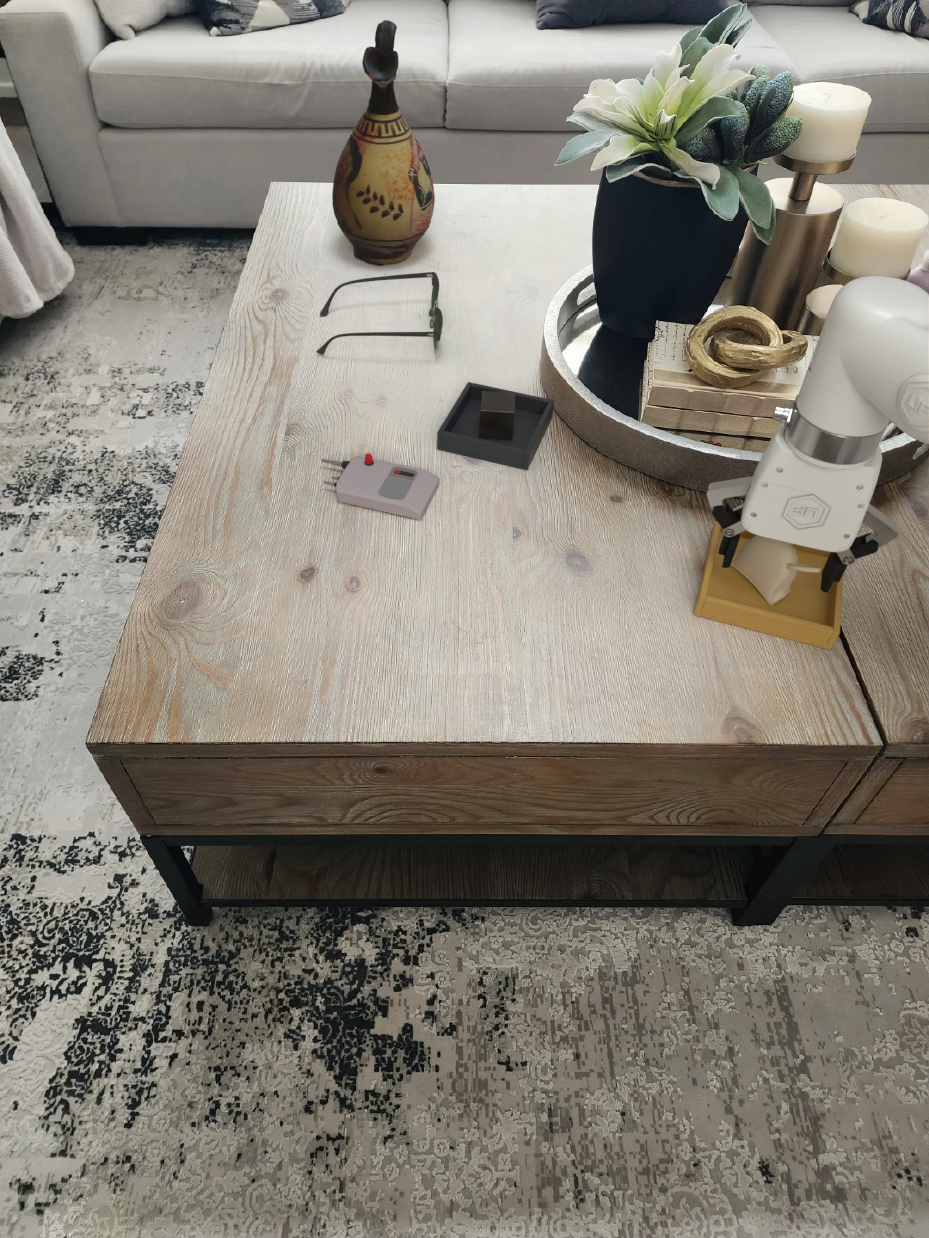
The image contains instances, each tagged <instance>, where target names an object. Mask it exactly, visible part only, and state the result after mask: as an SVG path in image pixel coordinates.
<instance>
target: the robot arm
mask: <svg viewBox="0 0 929 1238" xmlns="http://www.w3.org/2000/svg"><path fill="white" fill-rule="evenodd" d="M810 358H811V359H810V361H809V365H808V366H807V370H806V372H805V375H804V378H803V381H802V383H801V386H800V389H799V392H798V394H796V396H795V399H794V401H791V402H790V404H788V403H785V404H778V403H776V404H775V407H774V410H773V412H772V417H771V420H772V421H773V420H774V421H778V422H779V423H780V425H779V426H778V428H777V429H776V430H775V432H774V433H773V435H772V437H771V438H770V439H769V442H768V444H767V445H766V447H765V449H764V451H763V453H762V455H761V457H760V460H759V461H758V463H757V466H756V468H755V470H754V472H753V475H750V476H744V477H738V478H732V479H727V480H720V481H713V482H711V483H709V484H708V486H707V489H706V498H707V501H708V504H709V506H710V509H711V514H712V517H713V519H714V520H716V521H717V522H718V523H719V524H720V526H721V527H722V528H723V534H724V535H723V538H722V541H721V544H720V547H719V552H718V554H721V555H724V559H723V564H722V567H723V568H728V567H729V568H730V565H731V562H732V559H733V557H734V554H735V551H736V548H737V545H738V542H739V538H740V533H742V532H744V531H746V530H747V531H748V532H750V533H752V534H755V535H759V536H762V537H766V538H771V539H775V540H779V541H783V542H787V543H792V544H796V545H800V546H805V547H809V548H814V549H818V550H823V551H828V552H831V553H830V555H829V557H828V560H827V562H826V564H825V566H824V568H823V570H822V578H821V590H822V592H826V593H828V592H829V590H830V588H831V586H832V584H833V582H838V583H839V582H840V580H841V578H842V576H843V577H844V575H843V574H845V572H846V570H847V568H848V566H852V565H853V564H855V562H856V560H858V559H860V558H863V557H867V556H869V555H874V554H875V553H877V552H878V551H879V549H880V548H881V547H884V546H886V545H887V544H889V543H890V542H892V541H894V540H895V539H896V538H898V537H899V525H898V523H896V522H895V521H893V520H892V519H891V518H890V517H888V516H887V515H886V514H884V513H883V512H881V511H880V510H879V509H878V508H877V507H875V506H874V505H872V504H871V500H872V498H873V495H874V492H875V489H876V486H877V483H878V479H879V476H880V473H881V468H882V464H883V454H882V449H881V446H880V443H881V440H882V438H883V436H884V434H885V432H886V429H887V428H888V425H889V423H890V422H891V423H892V424H893V425H894V426H896V427H897V428H898V429H899V430H900V431H901V432H903V434H905V435H907V436H908V437H910V438H912V439H914V440H916V441H918V442H920V443H923V444H926V445H929V293H928V292H927V291H926V290H925V289H923V288H922V287H920V286H919V285H916V284H915V283H913V282H910V281H907V280H904V279H901V278H897V277H892V276H884V275H867V276H862V277H858V278H854V279H852V280H850V281H848V282H847V283H846V284H845V285H843V286H842V287H841V288H840V289H839V290H838V291H837V293H836V294H835V296H834V297H833V299H832V302H831V304H830V307H829V309H828V312H827V315H826V318H825V320H824V322H823V325H822V328H821V331H820V333H819V337H818V339H817V342H816V345H815V348H814V350H813V352H812V356H811V357H810ZM742 496H743V497H744V496H745V499H744V502H743V503H742V504H740V505H738V506H736V507H734V508H732V507H731V505H730V504H729V503H728V501H727V500H726V499H730V498H736V497H742ZM863 524H864V525H865V526H867V527H868V528H869V529H871V530H872V532H868V533H865V534H862V535H859V536H858V533H859V531H860V529H861V526H862V525H863Z"/></svg>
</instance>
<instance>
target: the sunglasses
mask: <svg viewBox="0 0 929 1238" xmlns="http://www.w3.org/2000/svg"><path fill="white" fill-rule="evenodd" d="M424 278H425V279H426V278H427V279H428V278H431V286H432V289H431V299H430V302H431V303H430V308H429V311H428V316H429V317H430V318H431V319H430V320H429V328H430V329H431V330H432V331H383V332H382V331H375V332H374V331H370V332H368V331H367V332H366V331H365V332H348V333H340V334H335V335H333V336H331V337H330V338H329V339H328V340H326V342H325V343H323V345H321V347H319V348H318V349H317V350H316V353H317V354H319V355H324V354H325V353H326V351H327V348H328V347H329V345H330V344H331V343H332V342H333V341H334V340H335V339H338V338H342V337H343V338H344V337H416V338H417V337H418V338H419V337H420V338H421V337H422V338H432V339H433V349H434V354H436V353H437V351H438V347H439V343H440V341H441V339H442V338H441V336H442V332H443V325H444V323H443V322H444V319H443V313H442V310H441V309H440V308H439V299H438V298H439V292H440V279H439V276H438V274H437V272H435V271H427V272H416V273H415V272H414V273H403V274H393V275H392V274H391V275H384V276H382V275H381V276H374V277H373V276H372V277H367V278H360V279H354V280H349V281H345V282H343V283H341V284H339V285H337V287H335V288H334V290H333V291H332V292H331V294H330V295H329V297H328V299H327V301H326V303H324V306H323V308H322V309H321V310H320V312H319V316H320V317H326V316H328V314H329V310H330V306H331V304H332V301H333V299H334V297H335V295H336V293H337V292H338V291H339V290H341V289H342V288H343V287H345V286H350V285H352V284H359V283H368V282H376V281H377V282H380V281H392V280H408V279H424Z"/></svg>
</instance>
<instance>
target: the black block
mask: <svg viewBox="0 0 929 1238" xmlns="http://www.w3.org/2000/svg"><path fill="white" fill-rule="evenodd" d="M514 413H515V393H507V392H490V391H482V398H481V408H480V427H479V438H483V439H499V440H512V438H513V426H514Z"/></svg>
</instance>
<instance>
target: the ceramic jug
mask: <svg viewBox="0 0 929 1238" xmlns="http://www.w3.org/2000/svg"><path fill="white" fill-rule="evenodd" d="M397 28H398V26H397V24H396V23H394V21H391V20H389V19H384V20H383V21H381V22H379V23H378V24H377V26H376V29H375V35H374V43H375V45H374V46H367V47H366V48H365V50H364V53H363V57H362V61H361V62H362V63H361V64H362V68H363V72H364V74H365V75H366V76H368V78H369V79H370V80H371V90H370V91H371V92H370V97H369V99H368V105H367V108H366V110H365V112H364V113H363V114H362V115H361V117H360V118H359V120H358V121H357V124H356V125H355V127H354V128H353V129H352V132H351V134H350V135H349V138H348V139H347V141H346V143H345V145H344V147H343V149H342V151H341V153H340V156H339V158H338V161H337V164H336V167H335V170H334V171H335V172H334V178H333V184H332V192H331V193H332V194H331V199H332V209H333V214H334V218H335V219H336V223H337V226H338V227H339V230H340V231H341V232H342V234H343V236H345V237H346V239H347V240H348V242H349V243H350V244H351V245H352V249H353V256H354V258H356V259H358V260H360V261H363V262H364V263H366V264H369V265H374V266H383V265H386V264H387V265H392V264H393V265H394V264H399V263H401V262H404V261H406V260H407V259H408V258H409V257H410V256H411V255H412V251H413V250H414V248H415V247H416V245H417V243H418V242H419V241H420V240H421V239H422V237H423V236H424V235H425V233H426V232H427V231H428V229H429V228H430V225H431V223H432V217H433V215H434V211H435V202H436V201H435V199H436V197H435V195H436V194H435V187H434V179H433V176H432V172H431V169H430V165H429V163H428V159H427V157H426V155H425V153H424V151H423V148H422V146H421V145H420V142H419V141H418V140H417V137H416V136H415V133H414V131H413V130H412V129H411V126H410V125H409V124H408V122H407V120H406V119H405V117H404V116H403V113H402V112H401V107H400V106H399V105H398V102H397V98H396V97H397V96H396V93H395V87H394V83H395V80H396V79H397V72H398V70H399V64H400V63H399V53H398V52H397V51H396V50H395V39H396V33H397Z"/></svg>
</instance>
